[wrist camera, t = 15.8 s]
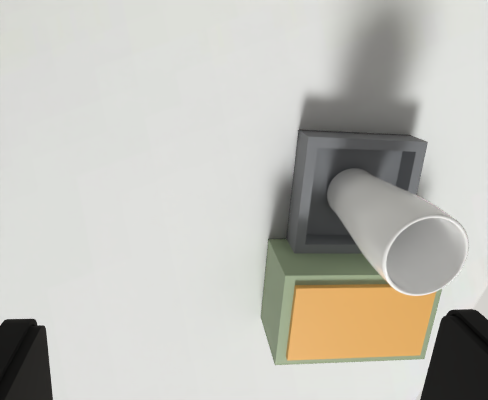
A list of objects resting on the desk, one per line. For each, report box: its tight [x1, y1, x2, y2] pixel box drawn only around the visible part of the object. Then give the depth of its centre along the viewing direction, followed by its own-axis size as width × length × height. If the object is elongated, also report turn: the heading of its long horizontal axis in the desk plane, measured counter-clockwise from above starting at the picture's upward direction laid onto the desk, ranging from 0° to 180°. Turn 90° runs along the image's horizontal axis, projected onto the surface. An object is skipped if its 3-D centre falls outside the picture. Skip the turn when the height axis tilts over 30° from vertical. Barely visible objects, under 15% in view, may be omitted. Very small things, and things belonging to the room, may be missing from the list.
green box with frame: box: [261, 130, 442, 365], centre depth 43 cm, size 22×16×9 cm
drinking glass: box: [327, 168, 469, 296], centre depth 37 cm, size 7×7×15 cm
